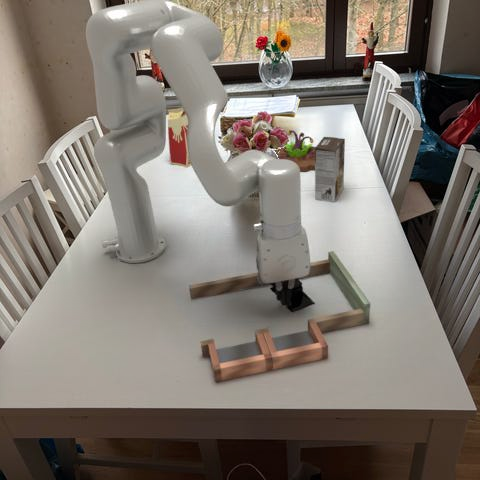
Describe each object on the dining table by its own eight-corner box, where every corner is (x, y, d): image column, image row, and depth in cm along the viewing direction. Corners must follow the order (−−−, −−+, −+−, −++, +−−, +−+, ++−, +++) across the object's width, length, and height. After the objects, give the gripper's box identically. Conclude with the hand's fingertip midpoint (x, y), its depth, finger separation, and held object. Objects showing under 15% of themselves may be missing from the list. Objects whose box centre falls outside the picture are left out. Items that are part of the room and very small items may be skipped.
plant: (276, 149, 181) (274, 119, 175) (329, 151, 175) (330, 120, 169) (262, 171, 164) (260, 139, 159) (320, 174, 159) (320, 141, 153)
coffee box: (323, 186, 151) (323, 136, 142) (344, 189, 148) (345, 137, 140) (314, 199, 144) (314, 147, 135) (335, 202, 141) (337, 149, 133)
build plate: (321, 308, 103) (322, 291, 100) (291, 320, 101) (291, 302, 98) (291, 278, 113) (291, 261, 110) (263, 287, 110) (262, 271, 108)
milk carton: (203, 158, 178) (196, 103, 167) (188, 167, 171) (179, 111, 161) (183, 154, 182) (175, 101, 172) (167, 164, 176) (158, 108, 165)
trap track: (208, 383, 87) (205, 363, 84) (190, 296, 109) (187, 278, 106) (384, 345, 92) (386, 325, 89) (333, 269, 113) (333, 251, 111)
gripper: (246, 241, 89) (253, 319, 98) (325, 227, 91) (324, 305, 100) (238, 222, 95) (245, 297, 105) (312, 209, 97) (312, 284, 107)
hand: (284, 301), depth 102 cm, fingers closed
